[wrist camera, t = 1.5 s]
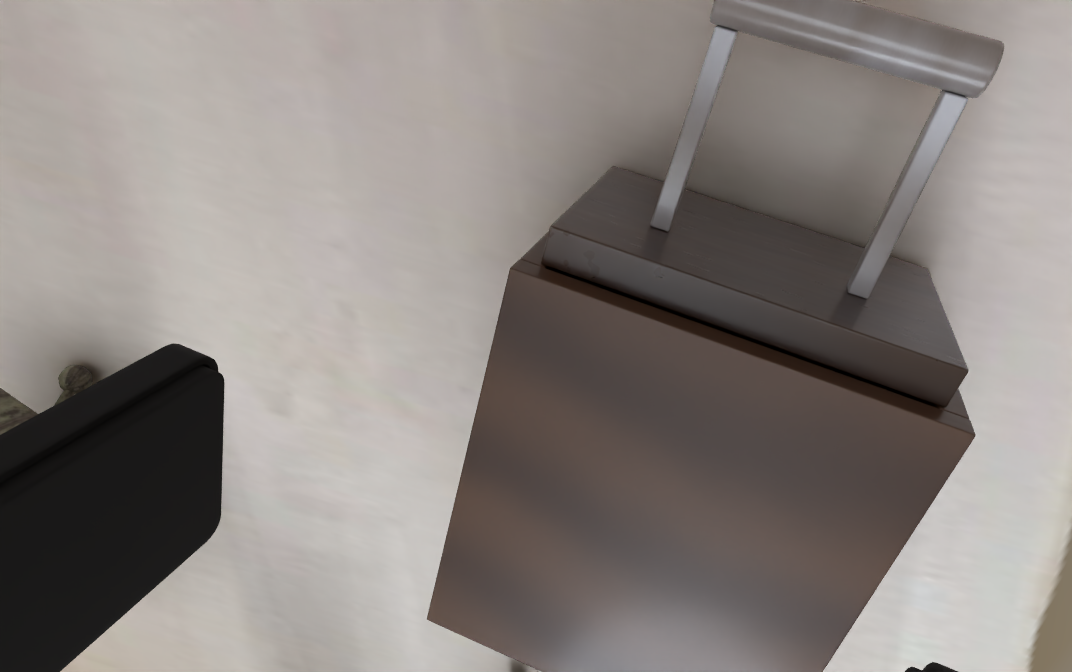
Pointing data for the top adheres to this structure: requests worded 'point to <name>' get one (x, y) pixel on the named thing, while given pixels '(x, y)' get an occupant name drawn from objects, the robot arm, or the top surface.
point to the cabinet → (675, 491)
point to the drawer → (782, 248)
